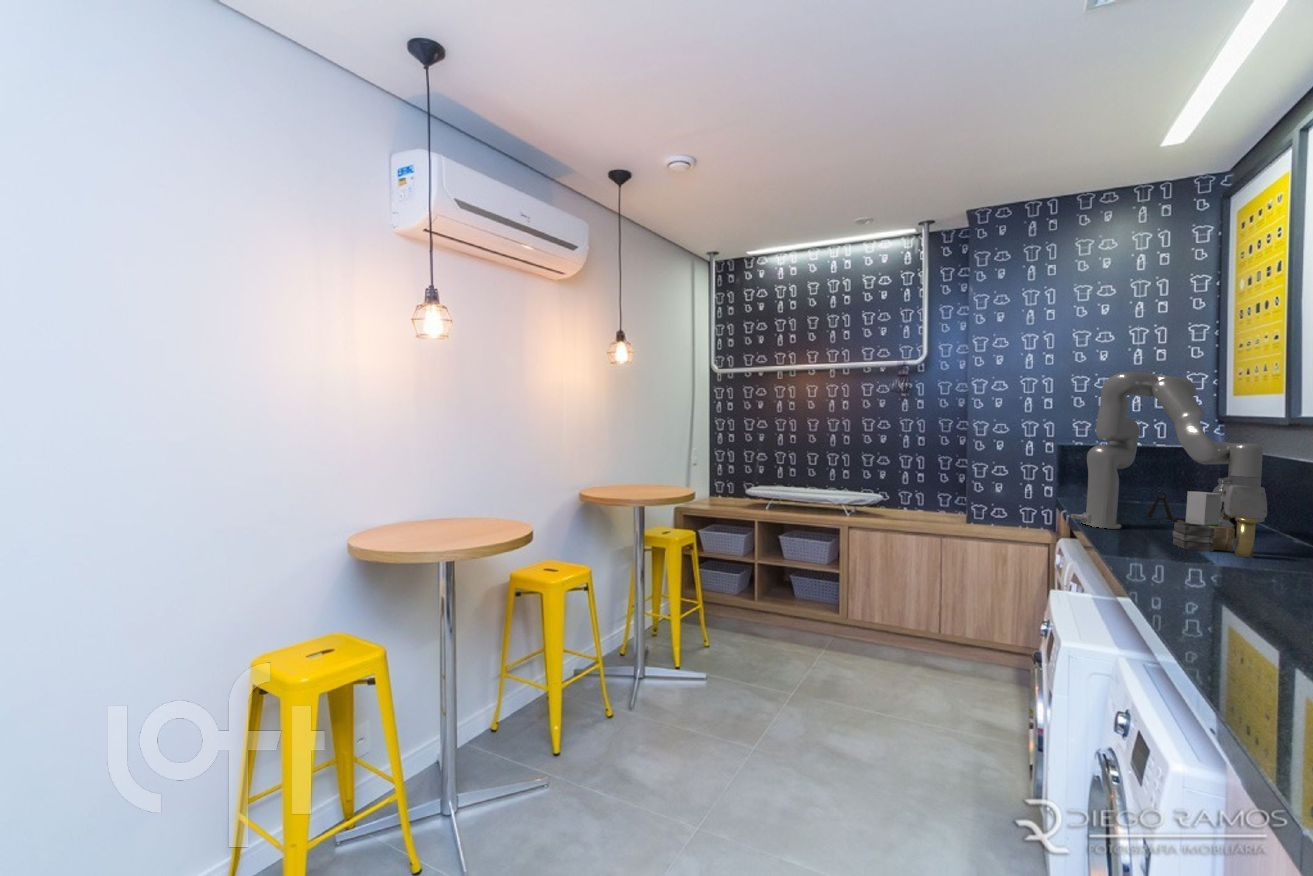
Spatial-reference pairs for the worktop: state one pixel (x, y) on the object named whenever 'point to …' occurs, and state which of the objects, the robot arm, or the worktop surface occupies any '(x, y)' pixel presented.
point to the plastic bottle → (1219, 490)
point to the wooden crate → (1212, 538)
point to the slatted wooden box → (1193, 530)
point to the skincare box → (1203, 508)
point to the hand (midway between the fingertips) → (1240, 538)
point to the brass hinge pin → (1245, 536)
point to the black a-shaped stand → (1167, 508)
